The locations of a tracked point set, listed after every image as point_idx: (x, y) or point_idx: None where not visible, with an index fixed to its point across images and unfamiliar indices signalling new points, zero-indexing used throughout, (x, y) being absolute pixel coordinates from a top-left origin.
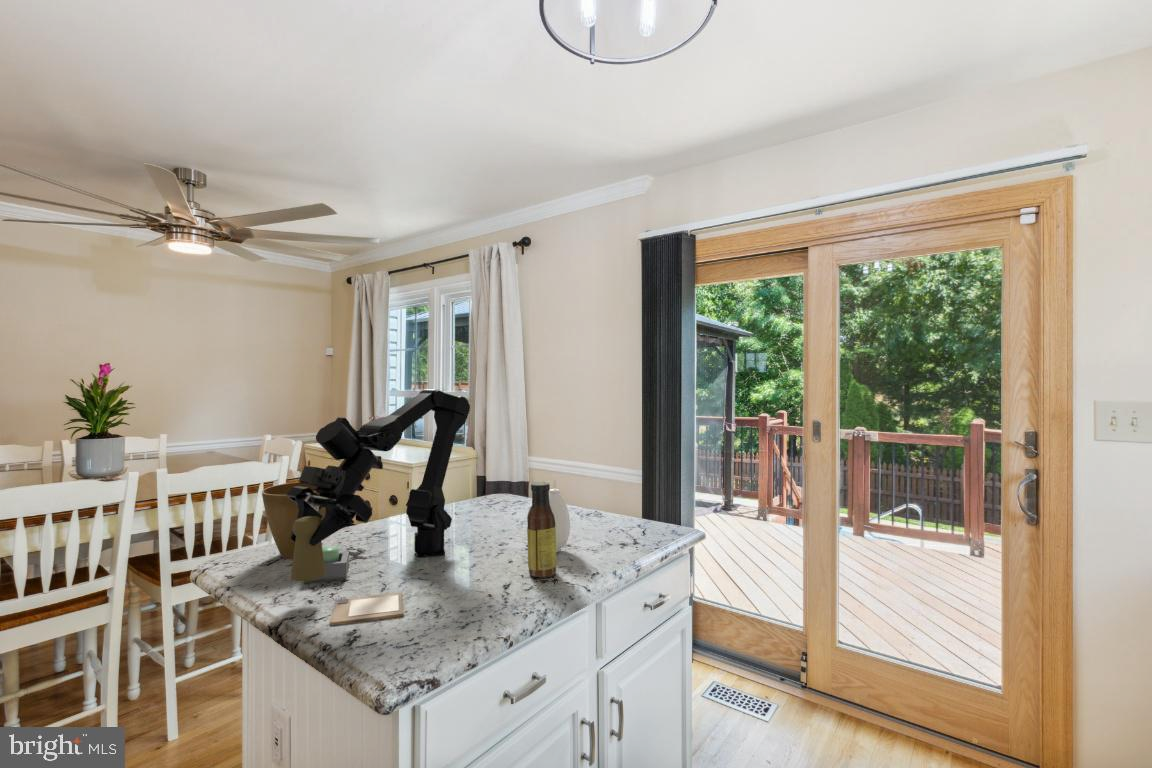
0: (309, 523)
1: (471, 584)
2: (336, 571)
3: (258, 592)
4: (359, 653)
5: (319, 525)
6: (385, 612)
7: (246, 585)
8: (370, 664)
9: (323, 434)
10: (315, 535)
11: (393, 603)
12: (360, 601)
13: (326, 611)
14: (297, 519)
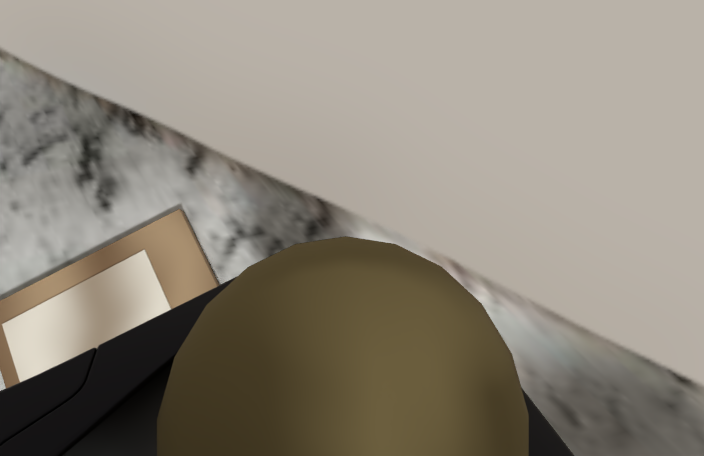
0: (232, 289)
1: None
2: None
3: (552, 364)
4: (47, 114)
5: (148, 368)
6: (43, 303)
7: (647, 410)
8: (6, 83)
9: None
10: (202, 294)
11: (35, 370)
12: None
13: None
14: (474, 344)
